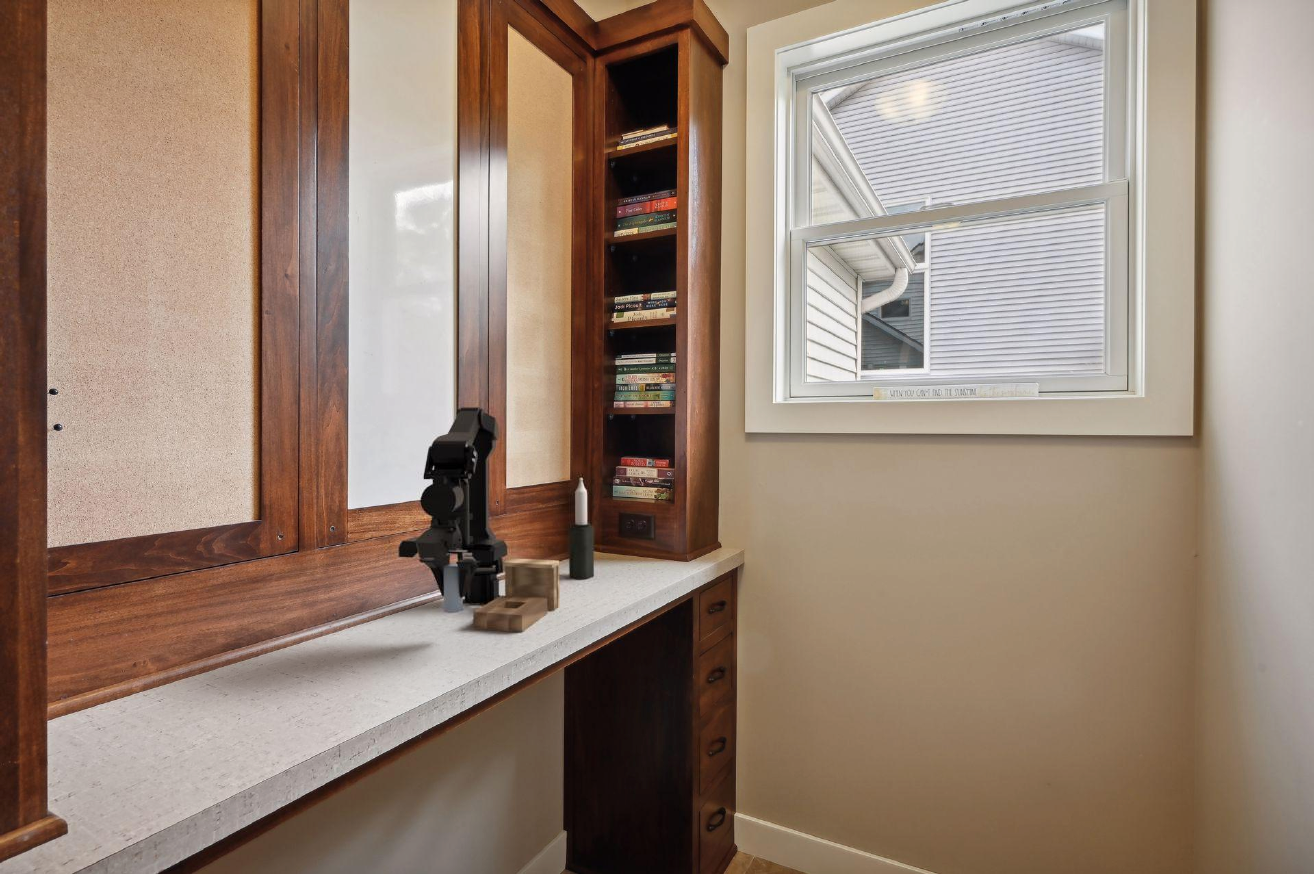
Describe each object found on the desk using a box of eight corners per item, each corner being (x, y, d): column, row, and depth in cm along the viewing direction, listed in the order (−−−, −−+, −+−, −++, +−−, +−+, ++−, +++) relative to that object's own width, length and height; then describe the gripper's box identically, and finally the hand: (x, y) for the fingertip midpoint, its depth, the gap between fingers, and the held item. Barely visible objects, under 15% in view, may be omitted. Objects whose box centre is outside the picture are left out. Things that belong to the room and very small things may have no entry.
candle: (567, 577, 167) (566, 478, 167) (578, 573, 172) (578, 476, 171) (584, 580, 165) (583, 479, 164) (595, 575, 169) (595, 477, 169)
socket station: (471, 628, 127) (470, 577, 127) (511, 603, 144) (511, 558, 144) (524, 632, 125) (524, 580, 124) (559, 606, 142) (559, 560, 141)
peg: (440, 612, 119) (440, 567, 118) (450, 607, 122) (449, 563, 121) (456, 613, 118) (456, 568, 118) (466, 608, 121) (465, 564, 121)
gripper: (377, 514, 114) (379, 605, 114) (478, 517, 109) (479, 612, 110) (415, 506, 124) (416, 589, 125) (508, 508, 120) (509, 595, 121)
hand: (453, 596), depth 120 cm, fingers closed on peg, 3 cm apart
